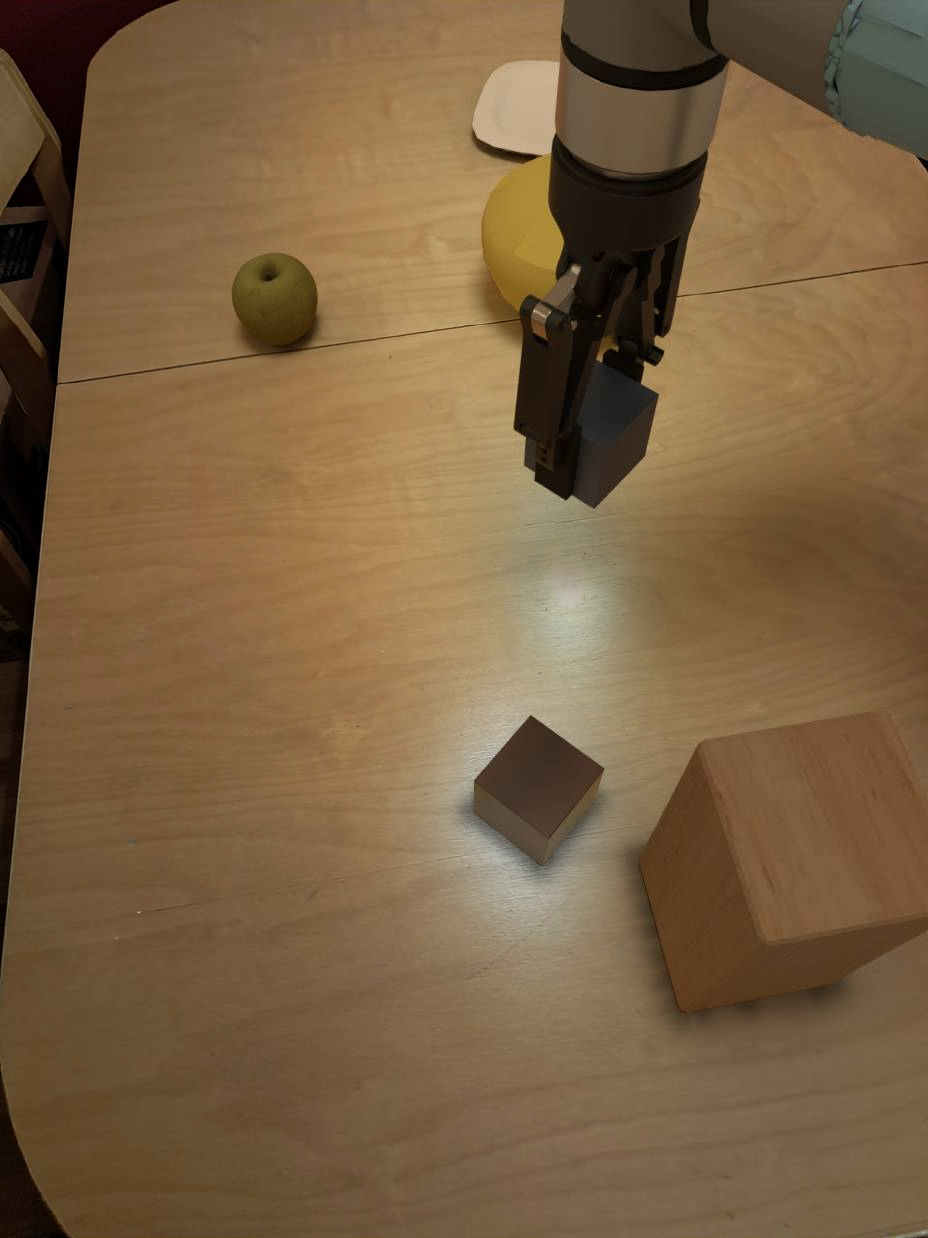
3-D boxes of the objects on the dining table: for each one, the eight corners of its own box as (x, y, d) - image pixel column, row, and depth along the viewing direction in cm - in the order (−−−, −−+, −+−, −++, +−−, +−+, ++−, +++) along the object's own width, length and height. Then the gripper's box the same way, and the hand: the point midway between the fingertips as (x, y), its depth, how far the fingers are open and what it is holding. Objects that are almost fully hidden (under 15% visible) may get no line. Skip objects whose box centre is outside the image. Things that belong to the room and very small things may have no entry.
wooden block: (778, 832, 64) (890, 704, 47) (832, 985, 59) (980, 905, 42) (636, 857, 63) (696, 737, 46) (678, 1015, 58) (764, 945, 41)
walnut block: (594, 800, 65) (605, 768, 60) (542, 867, 63) (548, 839, 58) (526, 749, 67) (530, 714, 62) (473, 812, 65) (473, 780, 60)
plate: (646, 85, 110) (648, 71, 109) (624, 178, 101) (626, 163, 100) (495, 67, 112) (495, 52, 111) (461, 156, 103) (461, 141, 102)
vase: (504, 380, 86) (511, 191, 69) (463, 252, 95) (461, 58, 79) (695, 350, 88) (746, 158, 71) (636, 226, 97) (670, 32, 81)
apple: (226, 346, 88) (208, 284, 82) (271, 294, 92) (256, 231, 86) (296, 371, 87) (282, 309, 81) (338, 316, 90) (328, 254, 84)
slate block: (645, 456, 65) (659, 393, 60) (594, 509, 63) (604, 449, 57) (575, 415, 67) (583, 351, 62) (523, 465, 65) (527, 403, 59)
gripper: (675, 27, 50) (617, 357, 70) (442, 202, 42) (452, 515, 62) (800, 77, 47) (704, 404, 67) (576, 272, 40) (542, 575, 60)
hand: (583, 457), depth 65 cm, fingers closed on slate block, 6 cm apart
